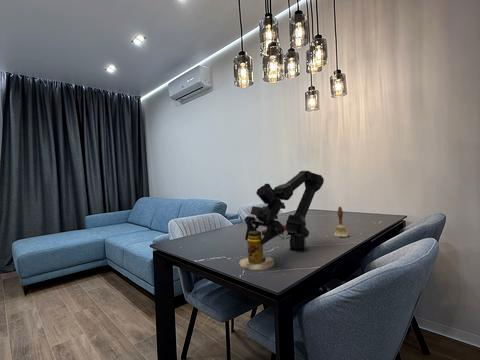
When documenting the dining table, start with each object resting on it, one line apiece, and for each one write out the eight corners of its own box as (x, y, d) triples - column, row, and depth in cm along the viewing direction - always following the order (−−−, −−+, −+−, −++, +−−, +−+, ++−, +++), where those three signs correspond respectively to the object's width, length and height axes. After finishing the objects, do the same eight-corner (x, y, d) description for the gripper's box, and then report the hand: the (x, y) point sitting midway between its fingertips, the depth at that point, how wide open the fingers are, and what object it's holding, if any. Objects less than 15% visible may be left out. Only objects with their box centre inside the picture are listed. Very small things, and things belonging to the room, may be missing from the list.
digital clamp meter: (255, 228, 153) (280, 221, 171) (255, 236, 153) (280, 228, 171) (290, 234, 137) (313, 225, 155) (290, 243, 137) (314, 233, 155)
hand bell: (337, 238, 139) (336, 208, 139) (330, 235, 148) (329, 206, 147) (352, 237, 140) (351, 207, 140) (344, 233, 149) (343, 205, 148)
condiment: (246, 264, 104) (244, 234, 104) (248, 257, 113) (247, 229, 112) (264, 264, 103) (263, 234, 103) (266, 257, 111) (265, 229, 111)
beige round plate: (279, 260, 110) (279, 257, 110) (266, 272, 98) (266, 269, 98) (248, 256, 117) (248, 254, 117) (233, 267, 105) (233, 264, 104)
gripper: (246, 197, 116) (227, 226, 109) (278, 200, 102) (259, 234, 95) (260, 213, 121) (242, 242, 115) (292, 217, 107) (274, 251, 100)
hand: (253, 242), depth 106 cm, fingers open, 9 cm apart
